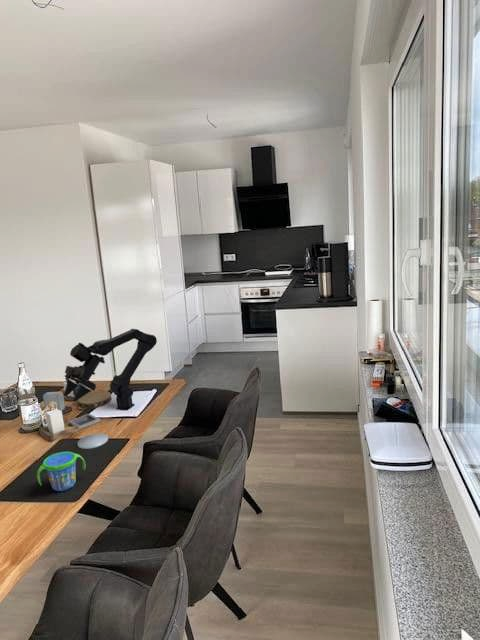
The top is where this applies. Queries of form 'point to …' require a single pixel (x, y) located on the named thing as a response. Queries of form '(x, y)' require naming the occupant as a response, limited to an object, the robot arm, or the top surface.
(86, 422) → the trap pit
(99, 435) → the pad
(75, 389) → the medicine bottle
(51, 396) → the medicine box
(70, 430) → the walnut channel
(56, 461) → the snack cup
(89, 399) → the brown round slab
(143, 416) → the top surface
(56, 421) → the white block
